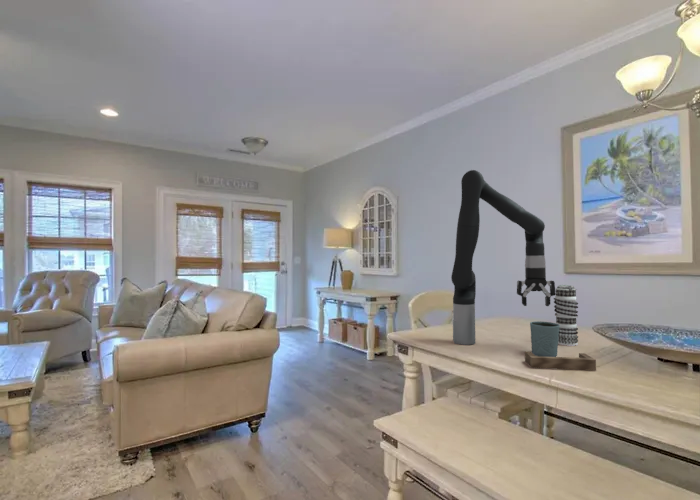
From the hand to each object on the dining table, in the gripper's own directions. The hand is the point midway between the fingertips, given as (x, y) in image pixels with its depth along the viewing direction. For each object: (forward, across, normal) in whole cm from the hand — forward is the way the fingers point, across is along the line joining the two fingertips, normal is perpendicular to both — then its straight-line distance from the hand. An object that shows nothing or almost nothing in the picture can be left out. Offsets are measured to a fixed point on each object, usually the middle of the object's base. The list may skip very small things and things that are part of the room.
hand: (536, 305), depth 153 cm
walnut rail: (+17, 0, -24) cm, 30 cm away
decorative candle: (+18, +15, +10) cm, 25 cm away
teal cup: (+18, 0, -10) cm, 20 cm away
